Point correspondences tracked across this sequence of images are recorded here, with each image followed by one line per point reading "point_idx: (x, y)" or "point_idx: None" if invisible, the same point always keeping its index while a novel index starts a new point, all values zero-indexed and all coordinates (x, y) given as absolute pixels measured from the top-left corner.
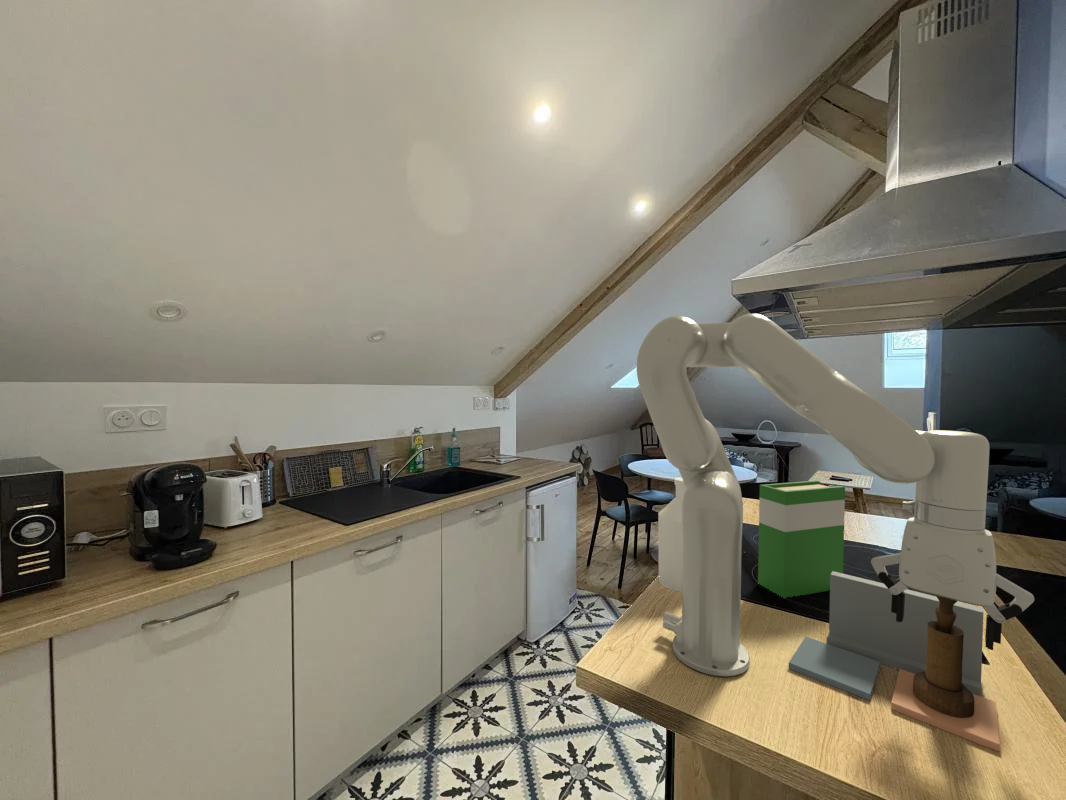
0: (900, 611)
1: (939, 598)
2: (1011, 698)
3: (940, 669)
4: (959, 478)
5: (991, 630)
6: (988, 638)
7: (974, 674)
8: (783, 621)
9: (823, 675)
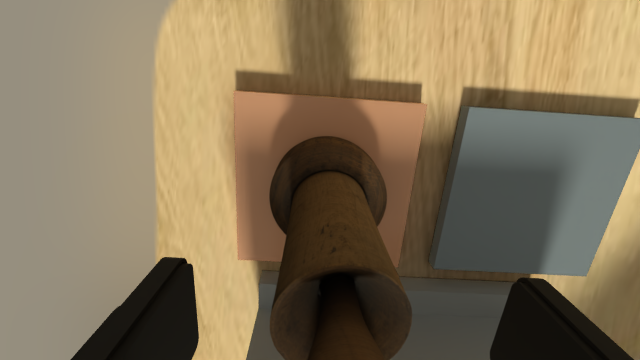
0: (571, 322)
1: None
2: (218, 304)
3: (341, 190)
4: None
5: (111, 336)
6: (157, 292)
7: (267, 318)
8: (613, 324)
9: (570, 116)
